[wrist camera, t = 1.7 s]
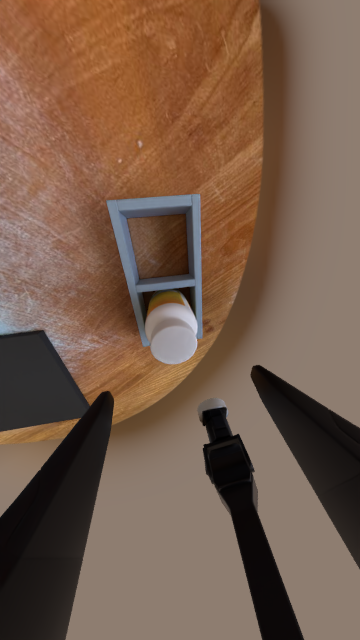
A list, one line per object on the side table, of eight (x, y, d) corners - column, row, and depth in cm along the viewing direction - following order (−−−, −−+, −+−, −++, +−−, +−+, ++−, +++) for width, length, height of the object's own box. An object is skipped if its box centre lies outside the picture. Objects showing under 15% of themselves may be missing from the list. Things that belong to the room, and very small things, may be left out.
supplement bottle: (141, 307, 20) (127, 351, 12) (166, 278, 19) (171, 303, 10) (169, 328, 22) (175, 379, 14) (194, 303, 21) (218, 342, 12)
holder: (196, 326, 23) (202, 338, 20) (145, 333, 22) (143, 346, 19) (192, 204, 16) (200, 193, 13) (116, 209, 15) (105, 200, 12)
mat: (92, 411, 29) (90, 416, 28) (-16, 429, 27) (-22, 435, 26) (43, 330, 20) (37, 334, 19) (-120, 351, 19) (-134, 356, 18)
